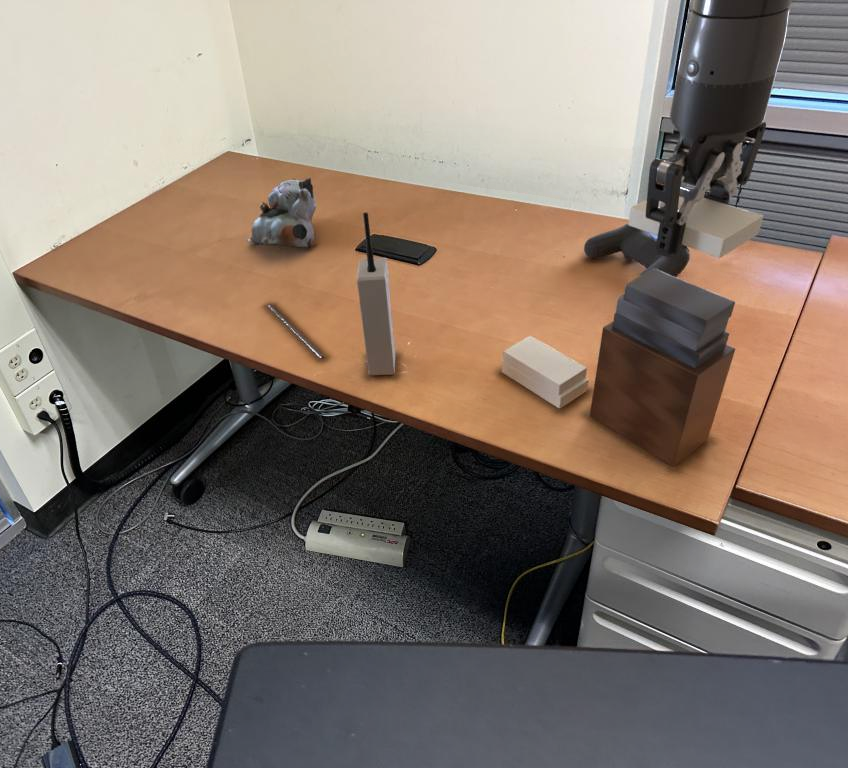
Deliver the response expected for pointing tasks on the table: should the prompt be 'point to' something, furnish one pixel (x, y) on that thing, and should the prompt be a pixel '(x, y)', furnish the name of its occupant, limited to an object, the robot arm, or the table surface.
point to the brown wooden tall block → (663, 365)
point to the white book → (707, 226)
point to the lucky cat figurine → (287, 216)
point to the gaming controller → (636, 249)
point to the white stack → (545, 371)
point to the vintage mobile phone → (376, 310)
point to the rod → (297, 332)
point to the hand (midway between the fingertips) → (688, 241)
